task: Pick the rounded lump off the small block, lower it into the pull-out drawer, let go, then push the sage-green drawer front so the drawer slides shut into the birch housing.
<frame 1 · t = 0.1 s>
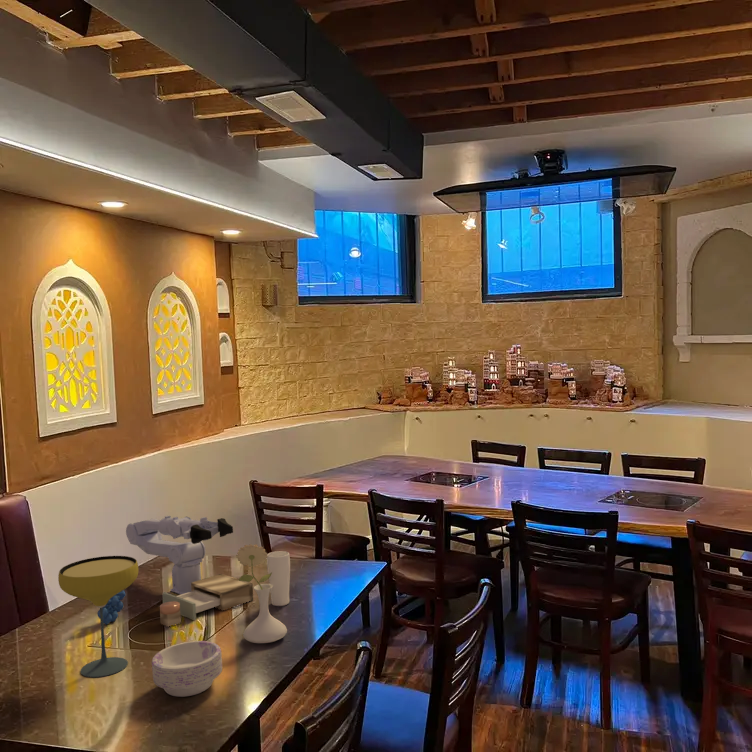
hand: (221, 532, 218), 22 cm above the table, tool horizontal, fingers open, 7 cm apart
paper bowls: (188, 688, 164), on the table
block: (170, 623, 204), on the table
flower in vase: (262, 639, 190), on the table
housing: (222, 599, 222), on the table
cocktail glass: (104, 668, 176), on the table
pull-out drawer: (193, 601, 215), point 2 cm above the table, slide at 9.0 cm
rounded lump: (170, 611, 204), point 3 cm above the table, touching block
grapes: (109, 622, 208), on the table
white cylinder: (280, 604, 216), on the table
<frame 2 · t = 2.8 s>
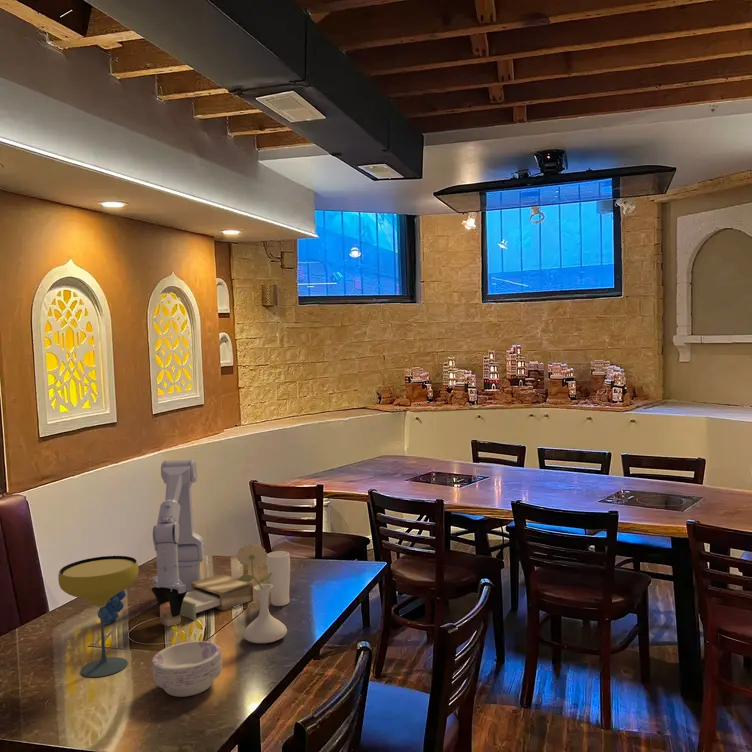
hand: (170, 613, 204), 3 cm above the table, tool pointing down, fingers closed on rounded lump, 5 cm apart
rounded lump: (170, 611, 204), point 3 cm above the table, touching gripper, block
everything else where it was.
when the fingers open (3 cm above the table, at t = 5.9 s): rounded lump drops 1 cm, resting on pull-out drawer.
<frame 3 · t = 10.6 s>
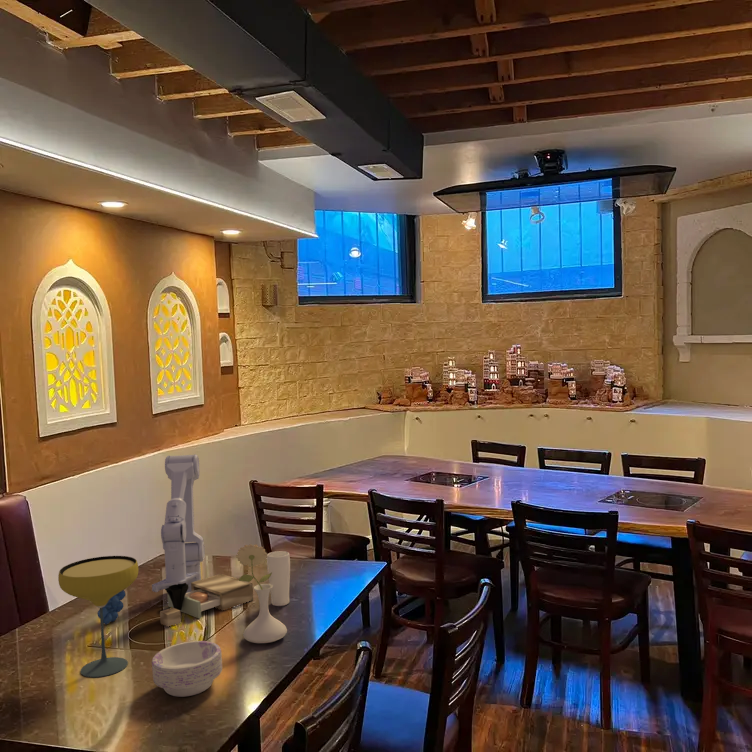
hand: (177, 609, 211), 1 cm above the table, tool pointing down, fingers closed
pull-out drawer: (197, 599, 216), point 2 cm above the table, slide at 7.3 cm, touching rounded lump, gripper
rounded lump: (198, 600, 216), point 2 cm above the table, touching pull-out drawer
everything else where it was.
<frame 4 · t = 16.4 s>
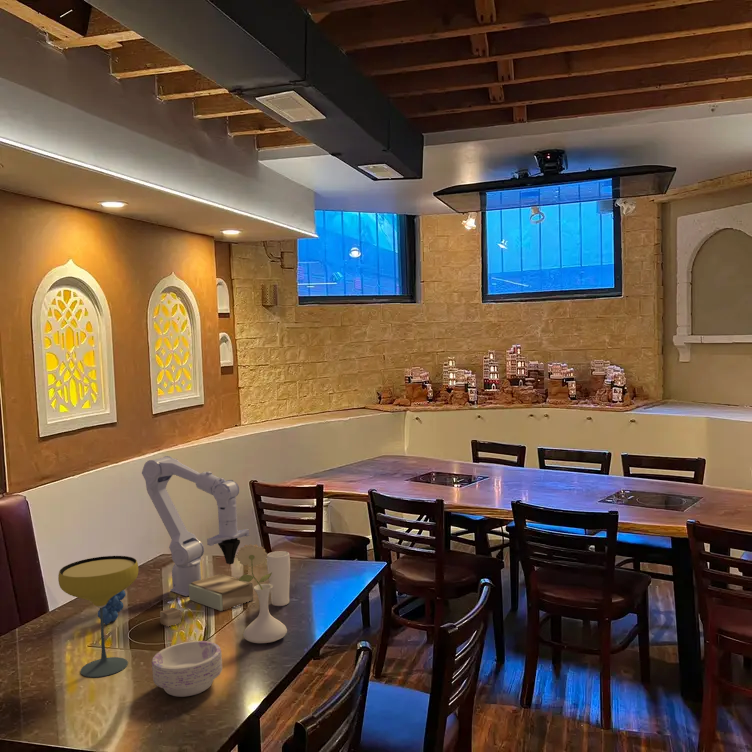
hand: (230, 563, 226), 10 cm above the table, tool pointing down, fingers closed
pull-out drawer: (218, 592, 221), point 2 cm above the table, slide at 0.0 cm, touching rounded lump
rounded lump: (219, 593, 221), point 2 cm above the table, touching pull-out drawer
everything else where it was.
at the end: pull-out drawer slide at 0.0 cm; rounded lump inside the target area on the housing (0.4 cm from its centre), point 2.1 cm above the housing's base; the gripper is holding nothing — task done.
